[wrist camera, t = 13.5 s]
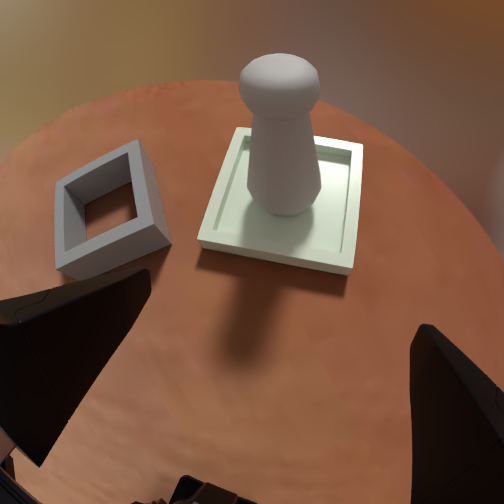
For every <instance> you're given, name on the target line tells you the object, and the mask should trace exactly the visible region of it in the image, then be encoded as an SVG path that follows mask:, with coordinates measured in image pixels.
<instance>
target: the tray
mask: <svg viewBox="0 0 504 504" xmlns="http://www.w3.org/2000/svg"><path fill="white" fill-rule="evenodd" d="M251 130H252V128H242V127H237V128H236V131H235V133H234V136H233V139H232V141H231V144H230V146H229V149H228V152H227V154H226V157H225V160H224V162H223V165H222V168H221V171H220V173H219V176H218V179H217V182H216V184H215V187H214V190H213V193H212V196H211V199H210V201H209V204H208V207H207V210H206V213H205V216H204V219H203V222H202V225H201V228H200V231H199V234H198V237H197V240H198V241H199V243H200V244H201V246H202V247H203V248H205V249H210V250H216V251H221V252H226V253H231V254H236V255H241V256H246V257H252V258H257V259H262V260H267V261H272V262H278V263H283V264H288V265H293V266H299V267H304V268H309V269H314V270H320V271H325V272H330V273H335V274H341V275H346V276H348V275H349V273H350V272H351V270H352V269H353V262H354V254H355V246H356V237H357V227H358V217H359V205H360V193H361V177H362V158H363V145H362V144H357V143H352V142H346V141H341V140H335V139H330V138H324V137H317V136H314V141H315V147H316V152H317V157H318V162H319V168H320V173H321V187H322V188H321V190H320V192H319V194H318V196H317V198H316V200H315V201H314V203H313V204H312V205H311V206H309V207H308V208H306V209H305V210H303V211H302V212H301V213H299V214H298V215H297V216H273V215H272V214H270V213H268V212H267V211H265V210H264V209H263V208H261V207H260V206H259V205H257V204H256V203H255V202H254V200H253V198H252V196H251V194H250V192H249V190H248V189H247V177H248V165H249V153H250V142H251Z"/></svg>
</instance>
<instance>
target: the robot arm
mask: <svg viewBox="0 0 504 504" xmlns="http://www.w3.org/2000/svg"><path fill="white" fill-rule="evenodd" d="M150 294H151V279H150V271H149V269H148V268H146V267H142V266H134V267H130V268H127V269H123V270H119V271H115V272H111V273H107V274H104V275H100V276H96V277H92V278H89V279H85V280H81V281H77V282H74V283H70V284H66V285H62V286H59V287H55V288H52V289H47V290H44V291H40V292H36V293H32V294H28V295H24V296H19V297H15V298H10V299H5V300H0V504H42V503H41V502H39V501H38V500H37V499H36V498H34V497H33V496H32V495H31V494H30V493H29V492H27V491H26V490H25V489H24V488H23V487H22V486H21V485H20V484H18V483H17V482H16V480H15V472H14V464H13V458H12V457H11V456H10V454H11V452H12V451H13V450H14V449H15V448H17V449H18V450H19V451H20V452H21V453H22V454H23V455H24V456H26V457H27V458H28V459H29V460H30V461H31V462H33V463H34V464H35V465H36V466H38V467H40V466H41V465H42V464H43V462H44V460H45V459H46V457H47V455H48V454H49V452H50V450H51V449H52V447H53V445H54V444H55V442H56V440H57V439H58V437H59V436H60V434H61V432H62V431H63V429H64V428H65V426H66V424H67V423H68V420H69V419H70V418H71V416H72V415H73V413H74V412H75V410H76V408H77V407H78V405H79V404H80V402H81V401H82V399H83V398H84V396H85V395H86V393H87V392H88V390H89V389H90V387H91V386H92V384H93V383H94V381H95V380H96V378H97V377H98V375H99V374H100V372H101V371H102V369H103V368H104V367H105V365H106V364H107V362H108V361H109V359H110V358H111V356H112V355H113V354H114V352H115V351H116V349H117V348H118V346H119V345H120V344H121V342H122V341H123V339H124V338H125V337H126V335H127V334H128V332H129V331H130V329H131V328H132V326H133V325H134V323H135V321H136V319H137V318H138V316H139V314H140V312H141V310H142V309H143V307H144V305H145V304H146V302H147V300H148V298H149V297H150ZM410 404H411V421H412V490H411V504H504V392H503V391H502V390H501V389H500V388H499V387H497V385H496V384H495V383H494V382H493V381H492V380H491V379H490V378H489V377H488V376H487V375H486V374H485V373H484V372H483V371H482V370H481V369H480V368H479V367H478V366H477V365H475V364H474V363H473V362H472V361H471V360H470V359H469V358H468V357H467V356H466V355H465V354H464V353H463V352H462V351H461V350H460V349H459V348H458V347H456V346H455V345H454V344H453V343H452V342H451V341H450V340H449V339H448V338H447V337H446V336H444V335H443V334H442V333H441V332H440V331H439V330H438V329H437V328H436V327H434V326H433V325H430V324H421V325H420V326H419V328H418V330H417V332H416V335H415V337H414V339H413V341H412V343H411V346H410ZM184 479H187V480H188V481H189V483H187V482H185V481H184ZM131 504H143V503H140V502H137V501H135V502H133V503H131ZM146 504H147V503H146ZM148 504H167V503H166V502H165V501H164V500H163V499H162V498H161V499H159V500H158V501H156V502H155V501H152V502H150V503H148ZM169 504H257V503H255V502H252V501H250V500H247V499H244V498H241V497H238V496H237V494H235V493H232V492H230V491H227V490H225V489H222V488H220V487H217V486H215V485H213V484H210V483H204V482H202V481H200V480H197V479H195V478H193V477H191V476H189V475H184V476H182V477H181V478H180V480H179V482H178V484H177V487H176V489H175V491H174V493H173V495H172V498H171V500H170V502H169Z"/></svg>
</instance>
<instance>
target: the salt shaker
mask: <svg viewBox="0 0 504 504" xmlns="http://www.w3.org/2000/svg"><path fill="white" fill-rule="evenodd" d="M239 92H240V95H241V99H242V100H243V102H244V103H245V105H246V106H247V107H248V109H249V110H250V112H252V113H253V119H252V130H251V142H250V153H249V165H248V177H247V189H248V190H249V192H250V194H251V196H252V198H253V200H254V202H255V203H256V204H257V205H259V206H260V207H261V208H263V209H264V210H265V211H267V212H268V213H270V214H272V215H273V216H297V215H298V214H299V213H301V212H302V211H303V210H305V209H306V208H308V207H309V206H311V205H312V204H313V203H314V201H315V200H316V198H317V196H318V194H319V192H320V190H321V188H322V187H321V173H320V168H319V162H318V157H317V152H316V147H315V141H314V135H313V129H312V124H311V118H310V113H309V112H310V111H311V110H312V108H313V107H314V105H315V104H316V103H317V101H318V99H319V93H320V86H319V81H318V75H317V70H316V69H315V68H314V67H313V66H312V65H311V64H310V63H309V62H307V61H306V60H305V59H303V58H300V57H297V56H294V55H290V54H280V53H278V54H270V55H264V56H262V57H259V58H257V59H254V60H253V61H252V62H250V63H249V64H248V65H247V66H246V67H245V68H244V69H243V70H242V71H241V75H240V80H239Z"/></svg>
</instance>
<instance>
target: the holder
mask: <svg viewBox="0 0 504 504" xmlns="http://www.w3.org/2000/svg"><path fill="white" fill-rule="evenodd" d="M131 181H132V185H133V191H134V198H135V204H136V209H137V215H138V217H137V218H135V219H133V220H130V221H128V222H126V223H124V224H122V225H119V226H117V227H115V228H113V229H111V230H109V231H107V232H105V233H102V234H100V235H98V236H96V237H94V238H92V239H90V240H88V241H87V239H86V226H85V209H84V205H85V204H87V203H89V202H91V201H93V200H95V199H97V198H99V197H101V196H103V195H105V194H107V193H109V192H111V191H113V190H115V189H117V188H119V187H121V186H123V185H125V184H127V183H129V182H131ZM54 229H55V261H56V270H58V271H60V272H62V273H64V274H66V275H68V276H70V277H72V278H73V279H75V280H77V281H81V280H85V279H89V278H92V277H96V276H98V275H100V274H102V273H105V272H107V271H109V270H112V269H114V268H116V267H119V266H121V265H123V264H126V263H128V262H130V261H133V260H135V259H137V258H140V257H142V256H145V255H147V254H149V253H152V252H154V251H157V250H159V249H161V248H164V247H166V246H169V245H171V244H172V242H171V238H170V234H169V230H168V226H167V222H166V218H165V214H164V210H163V206H162V202H161V198H160V193H159V189H158V184H157V180H156V175H155V171H154V166H153V162H152V161H151V159H150V158H149V156H148V154H147V153H146V151H145V149H144V148H143V146H142V144H141V143H140V141H139V139H136V140H134V141H132V142H130V143H128V144H126V145H124V146H121V147H119V148H117V149H115V150H113V151H111V152H109V153H107V154H106V155H104V156H102V157H100V158H98V159H96V160H94V161H92V162H90V163H89V164H87V165H85V166H83V167H81V168H80V169H78V170H76V171H74V172H73V173H71V174H69V175H67V176H66V177H64V178H62V179H61V180H59V181H57V182H56V188H55V220H54Z"/></svg>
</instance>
